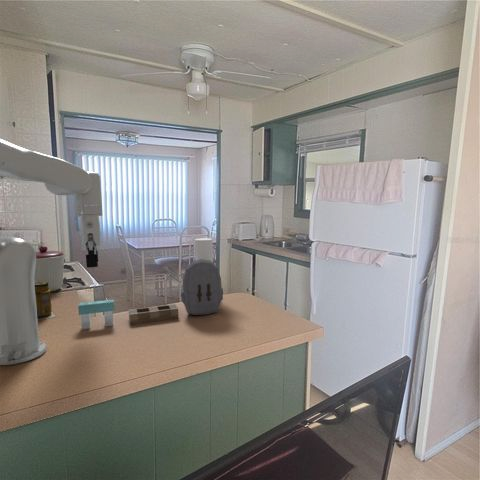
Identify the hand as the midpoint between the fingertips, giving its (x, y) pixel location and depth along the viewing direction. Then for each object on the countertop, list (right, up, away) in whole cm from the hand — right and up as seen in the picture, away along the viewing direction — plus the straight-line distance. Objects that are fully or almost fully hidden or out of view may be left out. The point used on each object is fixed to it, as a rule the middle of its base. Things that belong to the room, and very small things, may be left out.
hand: (92, 264), depth 110 cm
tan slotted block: (+18, -19, +8) cm, 27 cm away
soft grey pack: (+34, -19, +12) cm, 41 cm away
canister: (-43, -16, +50) cm, 68 cm away
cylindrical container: (+33, -17, +32) cm, 49 cm away
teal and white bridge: (+1, -20, +2) cm, 20 cm away
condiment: (-24, -20, +13) cm, 33 cm away
